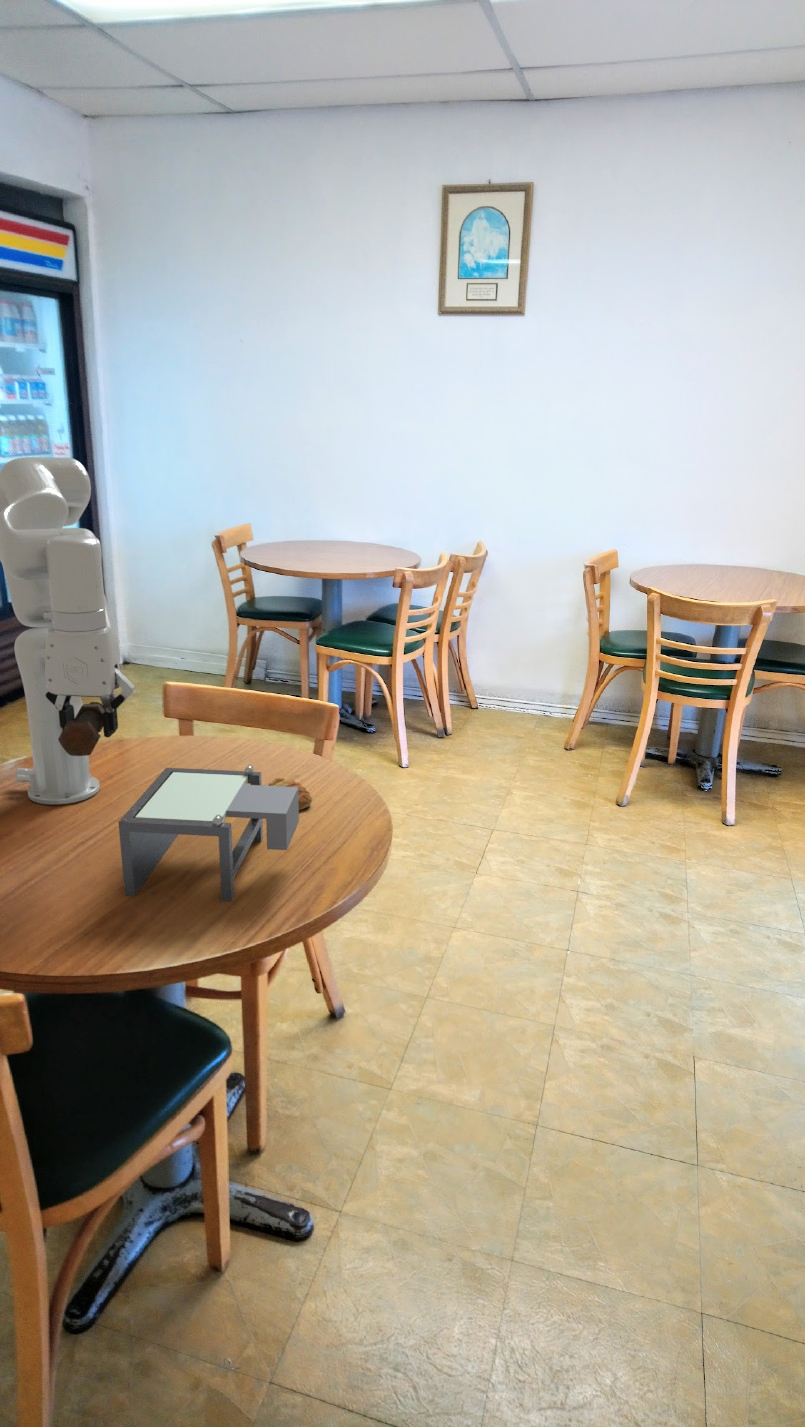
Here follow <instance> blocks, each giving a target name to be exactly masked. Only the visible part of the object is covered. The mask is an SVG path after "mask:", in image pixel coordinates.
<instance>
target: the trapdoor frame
mask: <svg viewBox="0 0 805 1427" xmlns="http://www.w3.org/2000/svg"><path fill="white" fill-rule="evenodd" d="M254 770H255V767H254V765H253V764H248V765H247V766H246V768H245V769H244V771H243V770H228V769H227V770H226V769H225V770H224V769H223V770H222V769H203V768H186V767H185V768H182V767H181V768H180V767H164V770H163V771H162V772H161V773H160V774H158V776H157V777H156V778H155V779H154V781H152V783H151V784H150V785H149V786H148V788H147V789H146V790H145V791H144V792H143V793H142V794H141V795H140V797H139V798H138V799H137V800H136V801H135V802H134V803H133V804H132V806H131V807H130V808H129V809H128V810H127V811H126V812H125V813H124V815H123V816H122V817H121V819H119V821H118V831H119V843H120V844H119V846H120V854H121V868H122V878H123V890H124V896H125V897H136V896H137V893H139V891H140V890H141V889H142V887H143V885H144V884H145V883H146V882H147V880H148V878H149V877H150V876H151V874H152V873H153V871H154V870H155V868H156V867H157V865H158V864H159V863H160V862H161V860H162V859H163V857H164V856H165V854H166V853H167V851H168V850H169V848H170V847H171V846H172V844H173V843H174V842H175V840H176V838H177V837H178V835H181V836H183V835H185V836H202V837H203V836H204V837H218V848H219V849H218V852H219V874H220V875H219V876H220V895H221V897H220V898H221V902H227V903H228V902H229V903H233V900H234V898H235V884H234V879H235V877H236V875H237V873H238V872H239V870H240V867H241V865H242V862H243V861H244V859H245V857H246V855H247V853H248V851H249V850H250V847H251V845H252V843H253V842H258V843H261V842H262V841H263V839H264V826H263V825H264V824H263V822H264V821H263V820H264V819H258V818H249V821H248V823H247V824H246V825H245V828H244V830H243V831H242V833H241V836H240V837H239V839H238V841H237V842H236V845H235V847H234V849H233V836H232V835H233V834H232V833H233V832H232V830H233V829H232V822H223V823H222V820H223V817H222V816H221V815H216V816H215V817H214V819H213V820H212V822H202V821H183V820H164V819H144V818H135V817H136V816H137V814H138V813H139V812H140V811H141V810H142V809H143V807H144V806H145V805H146V804H147V803H148V801H149V800H150V799H151V798H152V797H153V796H154V794H155V793H156V792H157V791H158V790H159V788H160V787H161V786H162V785H163V784H164V783H165V781H166V780H167V779H168V778H169V777H170V775H171V774H172V773H173V772H180V773H201V774H222V775H243V776H248V782H247V785H262V772H261V771H254ZM262 786H263V785H262Z"/></svg>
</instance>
